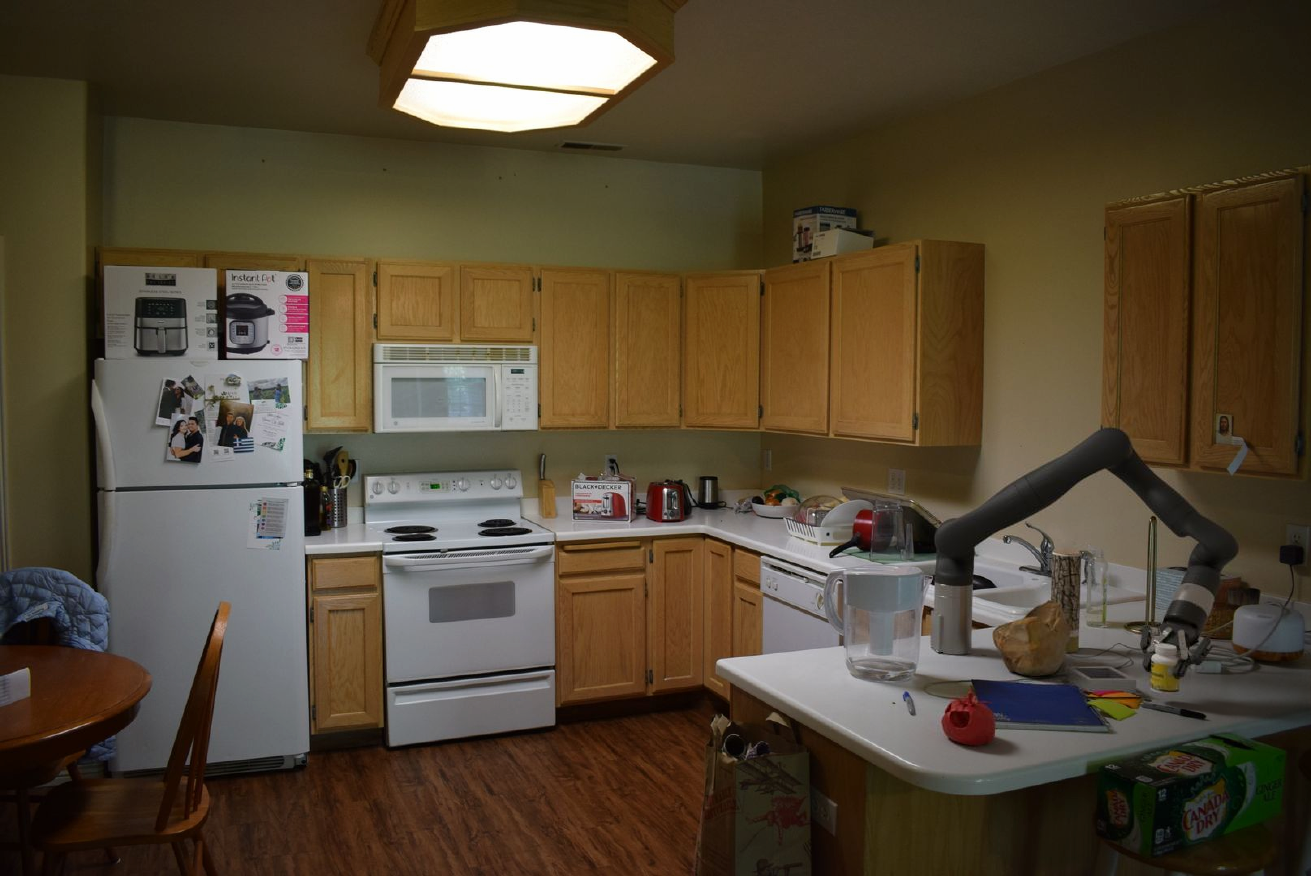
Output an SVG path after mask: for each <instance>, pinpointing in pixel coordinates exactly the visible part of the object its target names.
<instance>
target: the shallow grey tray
mask: <svg viewBox="0 0 1311 876" xmlns="http://www.w3.org/2000/svg"><path fill="white" fill-rule="evenodd" d="M1064 677H1065V678H1060V680H1059V682H1060V683H1062V684H1063V685H1065V686H1067V685H1071V686H1077V687H1079V688H1081V689H1083V690H1086V691H1088V692H1095V691H1108V690H1109V691H1111V690H1114V691H1124V692H1127V693H1131V694H1133V695H1136V696H1139V697H1141V698H1142V694H1141V693H1139V692H1137V690H1136V689H1137V687H1136V686H1137V679H1135V678H1133V677H1131V676H1130V675H1128V674H1126V673H1124V672H1122V671H1120V670H1118V669H1116V668H1114V667H1113V666H1110V665H1109V666H1107V665H1106V666H1104V665H1103V666H1102V665H1101V666H1065V676H1064Z"/></svg>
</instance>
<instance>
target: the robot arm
mask: <svg viewBox="0 0 1311 876" xmlns="http://www.w3.org/2000/svg"><path fill="white" fill-rule="evenodd" d="M1103 470H1106V471H1108V472H1109V473H1111V474H1112V475H1113V476H1115V477H1116V478H1118V479H1119V480H1120V481H1121V482H1122V483H1124V484H1125V485H1126V486H1127V487H1128V488H1129V489H1131V490H1132V492H1134V493H1135V494H1136V495H1137V496H1138V497H1139V499H1140V500H1141V501H1142V502H1143V503H1144V504H1145V505H1146V506H1147V508H1148V509H1149V510H1151V512H1153V514H1154V515H1155V516H1156V517H1157V518H1158V519H1159V520H1160V521H1161V522H1162V523H1163V524H1164V526H1165V527H1167V528H1168V529H1169V530H1170V531H1171V532H1172V533H1173V534H1174V535H1175V536H1177V538H1178V537H1179V538H1186V537H1191V538H1192V539H1194V540H1195V541H1197V542H1198V543H1197V544H1196V545H1195V546H1194V547H1193V549H1192V550H1191V553H1190V555H1189V559H1188V563H1187V567H1186V572H1185V574H1184V576H1183V578H1182V580H1181V583H1180V584H1179V587H1178V588H1177V590H1176V591H1175V593H1174V594H1173V597H1172V599H1171V601H1170V604H1169V606H1168V608H1167V611H1166V612H1165V614H1164V617H1163V619H1162V623H1161V624H1160V625H1159V626H1157V627H1151V626H1150V625H1149V624H1145V625H1143V628H1142V634H1141V637H1140V642H1139V647H1140V649H1141V650H1142V652H1143V654H1145V655H1144V658H1143V660H1142V666H1143V669H1144V671H1145V672H1146V673H1151V658H1152V656H1153V655H1154V654H1156V651H1155V645H1156V644H1170V645H1174V646H1176V647H1177V652H1180V658H1179V660H1178V663H1177V665H1176V667H1175V670H1174V672H1173V675H1174V677H1175V679H1179V680H1180V679H1181V678H1184V677H1185V675H1186V673H1187V670H1188V668H1189V666H1191V665H1194V666H1201V664H1202V663H1203V662H1204V660H1205V659H1206V658H1207V656H1208V655H1209V653H1210V652H1211V651H1212V649H1213V647H1214V644H1213V642H1212V640H1211V638H1210V637H1209V636H1205V637H1203V636H1201V634H1202V632H1203V630H1204V628H1205V626H1206V623H1207V622H1208V619H1209V616H1210V615H1211V611H1212V609H1213V605H1214V602H1215V600H1216V599H1215V598H1216V596H1217V594H1218V591H1219V590H1220V587H1221V584H1222V583H1221V582H1222V581H1221V576H1220V575H1221V572H1222V570H1223V569H1224V567H1225V566H1226V565H1228V564H1229V563H1230V562H1231V561H1233V560H1234V559H1235V558H1236V557H1237V556H1238V554H1239V552H1240V546H1239V543H1238V541H1237V540H1236V538H1235V536H1234V535H1233V534H1232V533H1231V532H1230V531H1229V530H1227V529H1225V528H1224V527H1222V526H1221V525H1219V524H1218V523H1216V522H1214V521H1213V520H1211V519H1209V518H1208V517H1206V516H1204V515H1202V514H1201V513H1200V512H1199V511H1198V510H1197V509H1196V508H1195V507H1194V506H1193V505H1192V504H1191V503H1190V502H1189V501H1188V500H1187V499H1185V498H1184V497H1183V496H1182V495H1181V494H1180V493H1179V492H1178V491H1177V490H1176V489H1174V488H1173V487H1172V486H1171V485H1170V484H1169V483H1167V482H1166V481H1164V480H1163V479H1162V478H1160V476H1158V475H1157V474H1156V473H1155V472H1154V471H1153V470H1152V469H1151V468H1150V467H1149V466H1148V465H1147V464H1146V463H1145V462H1144V460H1143V459H1142V458H1141V456H1140V455H1139V454H1138V452H1137V451H1136V450H1135V448H1134V447H1133V443H1132V441H1131V438H1130V437H1129V435H1128V434H1127V433H1126V432H1125V431H1124V430H1122V429H1120V428H1117V427H1113V426H1110V427H1109V426H1108V427H1102V428H1101V429H1098V430H1097V431H1095V432H1094V433H1092V434H1091V435H1090V436H1088V437H1087V438H1084V440H1083V441H1081V442H1080V443H1079V444H1077V445H1076V446H1074V447H1073V448H1071V449H1070V450H1069V451H1067V452H1066V453H1063V455H1061V456H1058V457H1056V458H1054V459H1053V460H1051V461H1049V462H1047V463H1045V464H1042V465H1041V466H1038V467H1037V468H1036V469H1033V470H1032V471H1029V472H1027V473H1026V474H1024V475H1022V476H1021V477H1020V478H1017V479H1016V480H1014V481H1012V482H1011V483H1009V484H1008V485H1006V486H1005V487H1003V488H1002V489H1000V490H999V491H997V492H996V493H995V494H994V495H992V496H991V497H990V498H989V499H987V500H986V501H985V502H984V503H983V504H982V505H980V506H979V507H977V508H975V509H973V510H972V511H970V512H968V513H965V514H963V515H962V516H959V517H955V518H954V517H953V518H948V519H946V520H944V521H943V522H942V523H940V525H939V526H938V528H937V530H935V533H934V545H935V547H936V556H935V557H936V561H935V569H934V594H933V595H934V596H933V597H934V598H933V599H934V600H933V601H934V602H933V609H932V610H931V611H930V612H931V613H930V645H931V646H932V647H933V648H932V649H933V650H934V651H935V650H937V651H938V652H943V653H942V654H946V655H947V654H948V655H967V654H970V653H972V646H973V644H972V642H973V641H972V638H973V637H972V635H973V633H972V632H973V630H972V629H973V596H974V595H973V594H974V590H973V589H974V588H973V587H974V573H975V572H974V571H975V552H976V551H975V548H976V547H977V546H978V545H979V544H981V543H982V542H984V541H985V540H987V539H988V538H990V537H992V536H993V535H995V534H996V533H998V532H1000V531H1002V530H1005V529H1006V528H1009V527H1012V526H1014V525H1016V524H1018V523H1020V522H1023V521H1024V520H1027V519H1028V518H1030V517H1032V516H1034V515H1036V514H1038V513H1039V512H1041V511H1042V510H1044V509H1046V508H1049V507H1050V506H1052V505H1053V504H1054V503H1056V502H1057V501H1058V500H1060V499H1061V498H1062V497H1064V495H1066V494H1067V493H1068V492H1069V491H1070V490H1072V489H1073V488H1074V487H1075V486H1076V485H1078V484H1079V483H1080V482H1082V481H1083V480H1084V479H1087V478H1089V477H1090V476H1093V475H1094V474H1097V473H1099V472H1100V471H1103ZM1156 635H1158V636H1157V637H1156ZM1155 637H1156V638H1155ZM1154 638H1155V639H1154ZM1153 639H1154V640H1153ZM1152 640H1153V643H1152ZM1197 644H1198V646H1197V647H1196V649H1195V650H1194V651H1193V653H1192V654H1191V647H1193V646H1196V645H1197ZM937 651H936V652H937ZM938 652H937V653H938Z"/></svg>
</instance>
